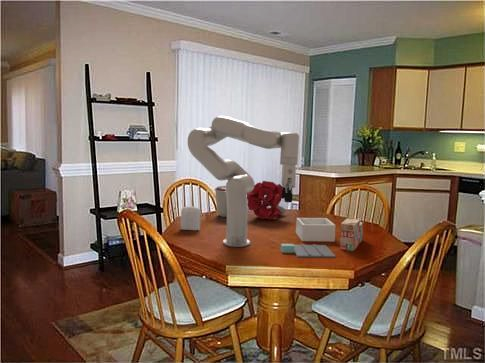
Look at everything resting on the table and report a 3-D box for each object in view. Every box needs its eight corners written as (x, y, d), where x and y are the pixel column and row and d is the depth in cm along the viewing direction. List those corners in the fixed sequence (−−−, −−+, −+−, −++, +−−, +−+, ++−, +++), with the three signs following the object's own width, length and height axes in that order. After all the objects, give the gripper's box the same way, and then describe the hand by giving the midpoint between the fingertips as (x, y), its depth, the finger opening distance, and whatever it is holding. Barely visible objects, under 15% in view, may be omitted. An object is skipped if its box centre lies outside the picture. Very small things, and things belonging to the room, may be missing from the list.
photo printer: (200, 229, 216) (201, 206, 214) (199, 231, 212) (199, 207, 210) (181, 228, 217) (182, 205, 215) (179, 230, 213) (180, 206, 211)
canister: (213, 212, 260) (214, 179, 257) (242, 212, 261) (243, 180, 258) (213, 218, 242) (214, 183, 239) (244, 219, 243) (245, 184, 240)
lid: (284, 257, 171) (284, 250, 171) (278, 246, 187) (278, 239, 187) (335, 257, 173) (336, 250, 172) (325, 246, 189) (325, 240, 189)
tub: (334, 241, 198) (335, 225, 197) (302, 241, 197) (302, 224, 196) (325, 233, 214) (326, 218, 213) (295, 232, 213) (296, 217, 212)
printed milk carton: (349, 238, 204) (350, 214, 203) (362, 240, 201) (363, 216, 200) (339, 249, 185) (340, 222, 184) (353, 251, 182) (354, 224, 181)
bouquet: (261, 223, 262) (235, 205, 241) (276, 190, 267) (251, 170, 246) (288, 232, 248) (262, 213, 227) (303, 197, 253) (279, 176, 231)
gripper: (301, 163, 168) (298, 204, 170) (294, 159, 185) (291, 197, 187) (282, 162, 168) (280, 203, 170) (277, 159, 185) (275, 196, 187)
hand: (286, 200), depth 179 cm, fingers open, 9 cm apart
